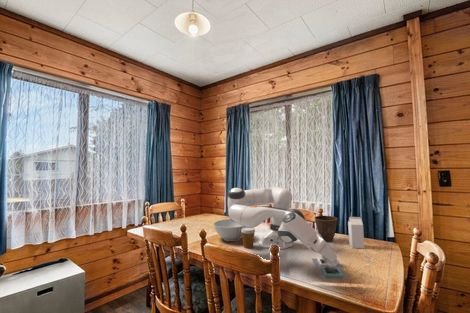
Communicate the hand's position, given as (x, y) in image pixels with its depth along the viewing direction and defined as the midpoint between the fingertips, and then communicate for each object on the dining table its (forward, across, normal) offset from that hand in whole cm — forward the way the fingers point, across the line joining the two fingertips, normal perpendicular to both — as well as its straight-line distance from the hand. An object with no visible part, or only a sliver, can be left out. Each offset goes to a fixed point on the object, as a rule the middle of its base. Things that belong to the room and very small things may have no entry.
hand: (332, 258), depth 112 cm
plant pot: (+21, -51, +9) cm, 56 cm away
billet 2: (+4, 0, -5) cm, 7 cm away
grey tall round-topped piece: (+6, -11, -3) cm, 13 cm away
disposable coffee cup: (-19, -46, -31) cm, 59 cm away
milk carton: (+30, -36, +18) cm, 51 cm away
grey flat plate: (+6, -5, -5) cm, 10 cm away
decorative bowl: (-26, -65, -38) cm, 80 cm away
